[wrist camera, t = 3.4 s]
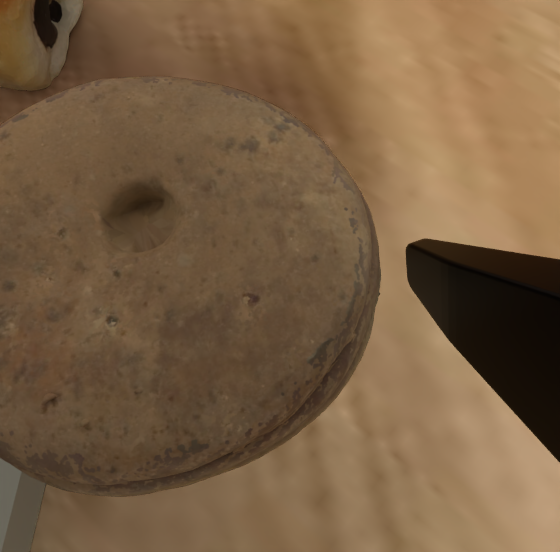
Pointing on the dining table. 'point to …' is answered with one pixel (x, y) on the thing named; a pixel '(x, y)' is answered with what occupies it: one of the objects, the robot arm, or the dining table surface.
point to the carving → (172, 283)
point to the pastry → (34, 40)
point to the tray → (18, 508)
